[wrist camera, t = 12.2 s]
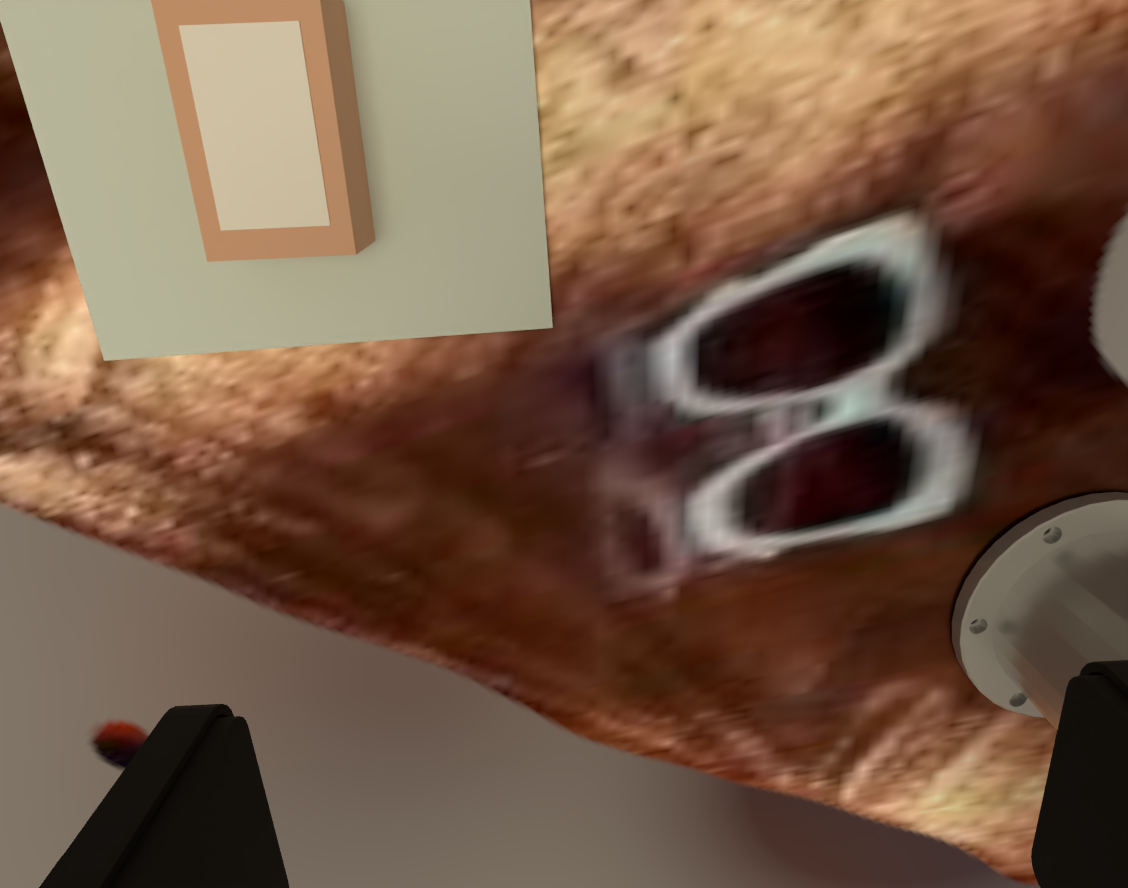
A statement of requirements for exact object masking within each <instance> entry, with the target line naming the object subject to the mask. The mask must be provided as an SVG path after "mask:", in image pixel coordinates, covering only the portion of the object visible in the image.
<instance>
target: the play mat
mask: <svg viewBox="0 0 1128 888" xmlns="http://www.w3.org/2000/svg"><path fill="white" fill-rule="evenodd" d="M342 1H344V4H345V12H346V19H347V27H348V35H349V42H350V50H351V58H352V65H353V73H354V80H355V88H356V96H357V103H358V111H359V119H360V126H361V134H362V141H363V149H364V157H365V164H366V172H367V180H368V187H369V195H370V202H371V210H372V218H373V225H374V233H375V242H373V243H372V244H370V245H369V246H368V247H366V248H365V249H363V250H362V251H361V252H359V253H358V254H356V255H340V256H319V257H297V258H276V259H255V260H234V261H213V262H207V259H206V254H205V249H204V245H203V240H202V235H201V231H200V226H199V221H198V217H197V212H196V208H195V203H194V198H193V194H192V189H191V184H190V180H189V175H188V170H187V166H186V161H185V157H184V152H183V147H182V143H181V138H180V133H179V129H178V124H177V119H176V115H175V110H174V106H173V101H172V96H171V92H170V87H169V82H168V78H167V73H166V68H165V64H164V59H163V55H162V50H161V45H160V41H159V36H158V31H157V27H156V22H155V17H154V13H153V8H152V4H151V0H0V21H1V24H2V27H3V31H4V34H5V37H6V40H7V44H8V47H9V50H10V53H11V57H12V60H13V63H14V67H15V70H16V73H17V76H18V80H19V83H20V86H21V90H22V93H23V96H24V99H25V103H26V106H27V109H28V113H29V116H30V119H31V122H32V126H33V129H34V132H35V135H36V139H37V142H38V145H39V149H40V152H41V155H42V158H43V162H44V165H45V168H46V172H47V175H48V178H49V181H50V185H51V188H52V191H53V194H54V198H55V201H56V204H57V208H58V211H59V214H60V217H61V221H62V224H63V227H64V231H65V234H66V237H67V240H68V244H69V247H70V250H71V253H72V257H73V260H74V263H75V267H76V270H77V273H78V276H79V280H80V283H81V286H82V290H83V293H84V296H85V299H86V303H87V306H88V309H89V312H90V316H91V319H92V322H93V326H94V329H95V332H96V335H97V339H98V342H99V345H100V349H101V352H102V355H103V358H104V361H107V360H121V359H134V358H148V357H162V356H175V355H189V354H203V353H216V352H230V351H244V350H257V349H271V348H285V347H298V346H312V345H326V344H339V343H353V342H367V341H380V340H394V339H408V338H421V337H435V336H449V335H462V334H476V333H490V332H503V331H517V330H531V329H544V328H553V324H552V310H551V296H550V282H549V267H548V253H547V239H546V224H545V210H544V196H543V181H542V167H541V153H540V138H539V124H538V110H537V95H536V81H535V67H534V52H533V38H532V24H531V9H530V0H342Z"/></svg>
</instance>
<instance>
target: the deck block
mask: <svg viewBox="0 0 1128 888" xmlns="http://www.w3.org/2000/svg"><path fill="white" fill-rule="evenodd" d="M151 4H152V8H153V13H154V17H155V22H156V27H157V31H158V36H159V41H160V45H161V50H162V55H163V59H164V64H165V68H166V73H167V78H168V82H169V87H170V92H171V96H172V101H173V106H174V110H175V115H176V119H177V124H178V129H179V133H180V138H181V143H182V147H183V152H184V157H185V161H186V166H187V170H188V175H189V180H190V184H191V189H192V194H193V198H194V203H195V208H196V212H197V217H198V221H199V226H200V231H201V235H202V240H203V245H204V249H205V254H206V259H207V262H213V261H234V260H255V259H276V258H297V257H319V256H340V255H356V254H358V253H359V252H361V251H362V250H363V249H365V248H366V247H368V246H369V245H370V244H372V243H373V242H375V233H374V225H373V218H372V210H371V202H370V195H369V187H368V180H367V172H366V164H365V157H364V149H363V141H362V134H361V126H360V119H359V111H358V103H357V96H356V88H355V80H354V73H353V65H352V58H351V50H350V42H349V35H348V27H347V19H346V12H345V4H344V1H342V0H151Z"/></svg>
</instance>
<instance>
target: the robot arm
mask: <svg viewBox="0 0 1128 888" xmlns="http://www.w3.org/2000/svg"><path fill="white" fill-rule="evenodd" d="M952 643H953V647H954V651H955V655H956V658H957V660H958V662H959V664H960V666H961V667H962V669H963V671H964V673H965V674H966V676H967V677H968V678H969V679H970V680H971V682H972V683H973V684H974V685H975V686H976V688H977V689H978V690H979V691H980V692H981V693H982V694H983V695H984V696H986V697H987V698H988V699H989V700H991V701H992V702H993V703H995V704H997V705H998V706H1000V707H1002V708H1004V709H1006V710H1009V711H1011V712H1015V713H1019V714H1023V715H1027V716H1031V717H1042V718H1046V719H1047V720H1048V722H1049V723H1050V724H1051V725H1052V726H1053V727H1054V728H1055V729H1056V731H1057V735H1056V739H1055V744H1054V749H1053V753H1052V758H1051V763H1050V768H1049V772H1048V777H1047V782H1046V786H1045V791H1044V796H1043V800H1042V805H1041V810H1040V814H1039V819H1038V824H1037V828H1036V833H1035V838H1034V842H1033V847H1032V855H1031V858H1032V866H1033V870H1034V874H1035V876H1036V879H1037V881H1038V884H1039V885H1040V887H1041V888H1128V493H1124V492H1108V493H1095V494H1089V495H1085V496H1081V497H1077V498H1072V499H1068V500H1065V501H1062V502H1060V503H1058V504H1055V505H1053V506H1050V507H1048V508H1045V509H1043V510H1041V511H1039V512H1037V513H1035V514H1034V515H1032V516H1030V517H1029V518H1027V519H1025V520H1024V521H1022V522H1020V523H1019V524H1017V525H1016V526H1014V527H1013V528H1012V529H1011V530H1009V531H1008V532H1007V533H1006V534H1004V535H1003V536H1002V537H1001V538H999V539H998V540H997V541H996V542H995V543H994V544H993V545H992V546H991V547H990V548H989V549H988V551H987V552H986V553H985V554H984V555H983V556H982V557H981V558H980V559H979V560H978V562H977V563H976V565H975V566H974V568H973V569H972V571H971V572H970V574H969V575H968V577H967V578H966V580H965V582H964V584H963V587H962V589H961V591H960V594H959V596H958V598H957V600H956V604H955V609H954V614H953V618H952ZM39 888H289V884H288V879H287V875H286V871H285V868H284V864H283V860H282V856H281V852H280V848H279V844H278V840H277V837H276V833H275V829H274V825H273V821H272V818H271V813H270V810H269V805H268V801H267V798H266V794H265V790H264V786H263V782H262V778H261V774H260V770H259V766H258V763H257V759H256V755H255V751H254V747H253V743H252V739H251V736H250V732H249V728H248V725H247V722H246V720H245V719H244V718H243V717H239V716H237V717H234V715H233V713H232V711H231V709H230V708H229V707H228V706H227V705H224V704H213V705H212V704H211V705H192V706H175V707H173V708H171V709H169V710H168V711H167V712H166V713H165V714H164V716H163V717H162V718H161V720H160V721H159V722H158V724H157V725H156V727H155V728H154V730H153V731H152V732H151V734H150V735H149V736H148V738H147V739H146V741H145V742H144V743H143V745H142V746H141V748H140V749H139V750H138V752H137V753H136V754H135V756H134V757H133V759H132V760H131V761H130V763H129V764H128V766H127V767H126V768H125V770H124V771H123V773H122V774H121V775H120V777H119V778H118V780H117V781H116V782H115V784H114V785H113V786H112V788H111V789H110V791H109V792H108V793H107V795H106V796H105V798H104V799H103V801H102V802H101V803H100V805H99V806H98V807H97V809H96V810H95V812H94V813H93V814H92V816H91V817H90V819H89V820H88V821H87V823H86V824H85V826H84V827H83V828H82V830H81V831H80V832H79V834H78V835H77V837H76V838H75V839H74V841H73V842H72V844H71V845H70V846H69V848H68V849H67V851H66V852H65V853H64V855H63V856H62V857H61V858H60V860H59V861H58V862H57V864H56V865H55V867H54V868H53V869H52V870H51V872H50V873H49V875H48V876H47V877H46V879H45V880H44V882H43V883H42V885H41V886H40V887H39Z"/></svg>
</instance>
